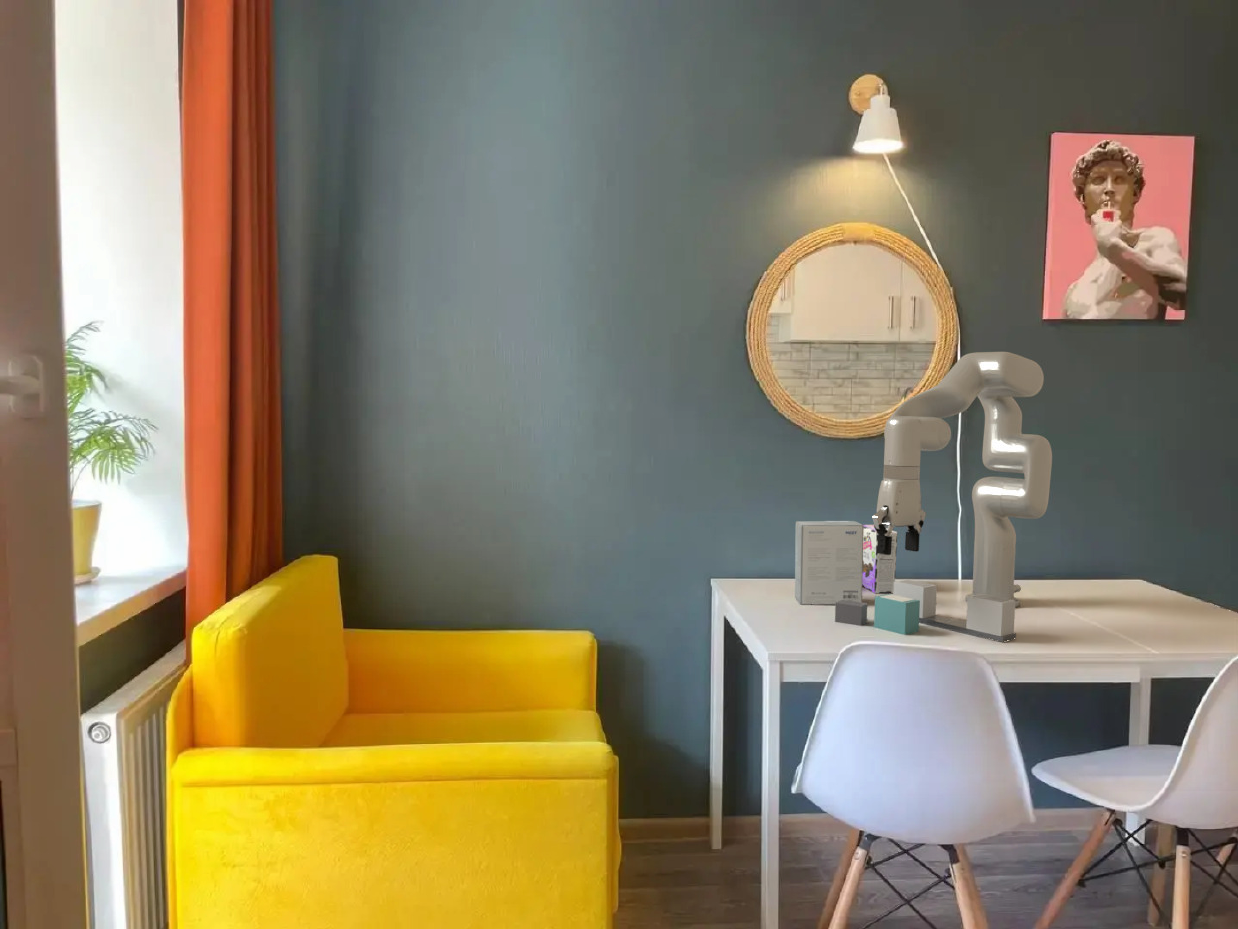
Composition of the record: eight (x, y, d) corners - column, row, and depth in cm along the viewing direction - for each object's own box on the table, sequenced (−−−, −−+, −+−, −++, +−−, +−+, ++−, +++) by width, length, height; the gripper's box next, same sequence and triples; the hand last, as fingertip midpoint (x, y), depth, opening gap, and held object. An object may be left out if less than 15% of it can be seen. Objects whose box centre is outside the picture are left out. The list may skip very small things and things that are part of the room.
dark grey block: (841, 619, 210) (841, 599, 210) (866, 622, 207) (867, 603, 206) (834, 622, 207) (835, 602, 206) (860, 626, 203) (861, 606, 203)
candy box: (855, 583, 251) (857, 524, 250) (875, 583, 252) (877, 524, 251) (874, 594, 238) (876, 531, 237) (896, 593, 238) (898, 531, 237)
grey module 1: (892, 611, 212) (893, 581, 212) (905, 608, 215) (906, 579, 215) (922, 618, 206) (923, 587, 206) (935, 615, 209) (936, 584, 208)
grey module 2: (966, 628, 197) (967, 596, 197) (979, 625, 200) (980, 593, 200) (1000, 636, 191) (1002, 602, 190) (1013, 633, 194) (1015, 600, 193)
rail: (890, 616, 213) (890, 611, 213) (903, 613, 216) (904, 608, 216) (1002, 642, 191) (1003, 636, 190) (1015, 639, 194) (1016, 633, 193)
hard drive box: (854, 599, 231) (857, 520, 230) (862, 605, 224) (865, 525, 222) (793, 598, 231) (795, 520, 230) (799, 605, 224) (801, 524, 222)
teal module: (888, 624, 205) (889, 593, 205) (918, 632, 199) (919, 599, 198) (874, 627, 202) (875, 596, 202) (904, 635, 196) (905, 602, 195)
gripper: (911, 472, 206) (907, 547, 207) (861, 473, 196) (858, 553, 197) (940, 474, 200) (936, 551, 201) (891, 476, 190) (887, 558, 191)
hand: (898, 552), depth 199 cm, fingers open, 9 cm apart
